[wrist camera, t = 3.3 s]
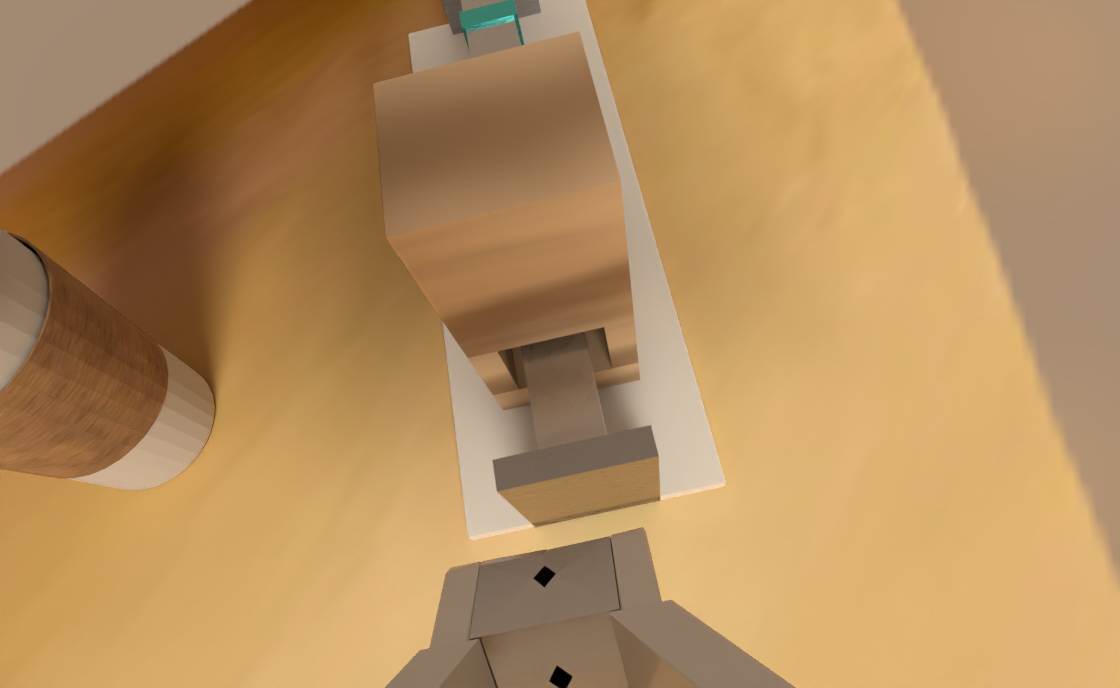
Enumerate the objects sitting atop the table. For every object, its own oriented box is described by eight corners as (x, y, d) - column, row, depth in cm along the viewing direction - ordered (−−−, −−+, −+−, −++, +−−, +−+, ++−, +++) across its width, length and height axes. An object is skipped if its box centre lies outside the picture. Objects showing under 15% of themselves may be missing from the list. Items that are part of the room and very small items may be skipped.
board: (724, 486, 26) (726, 481, 25) (473, 540, 26) (467, 536, 26) (583, 1, 38) (582, -11, 37) (413, 45, 38) (408, 33, 38)
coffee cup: (31, 488, 30) (-481, 359, 17) (132, 324, 33) (-235, 101, 20) (181, 546, 28) (-269, 450, 15) (274, 365, 31) (-28, 146, 18)
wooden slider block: (640, 380, 27) (620, 181, 15) (503, 410, 27) (385, 237, 16) (613, 274, 29) (579, 31, 18) (487, 303, 29) (373, 83, 18)
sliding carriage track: (660, 500, 26) (658, 456, 20) (535, 526, 26) (496, 491, 20) (540, 12, 38) (517, -105, 32) (455, 34, 38) (416, -79, 32)
